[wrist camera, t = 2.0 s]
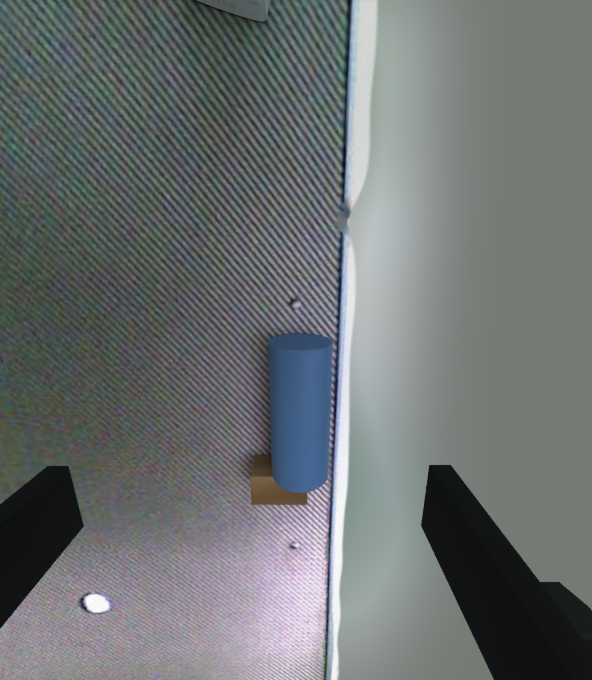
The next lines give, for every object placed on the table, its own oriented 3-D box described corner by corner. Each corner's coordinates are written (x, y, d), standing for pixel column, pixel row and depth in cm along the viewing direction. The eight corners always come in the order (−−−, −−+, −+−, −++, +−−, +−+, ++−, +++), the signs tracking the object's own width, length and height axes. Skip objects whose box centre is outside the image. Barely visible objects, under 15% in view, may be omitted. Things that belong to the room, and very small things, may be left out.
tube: (255, 340, 22) (298, 355, 18) (301, 330, 25) (346, 341, 22) (260, 469, 25) (298, 503, 22) (301, 446, 28) (340, 472, 25)
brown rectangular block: (255, 454, 28) (250, 476, 25) (306, 454, 27) (307, 477, 25) (256, 480, 28) (251, 504, 25) (306, 480, 28) (307, 505, 25)
